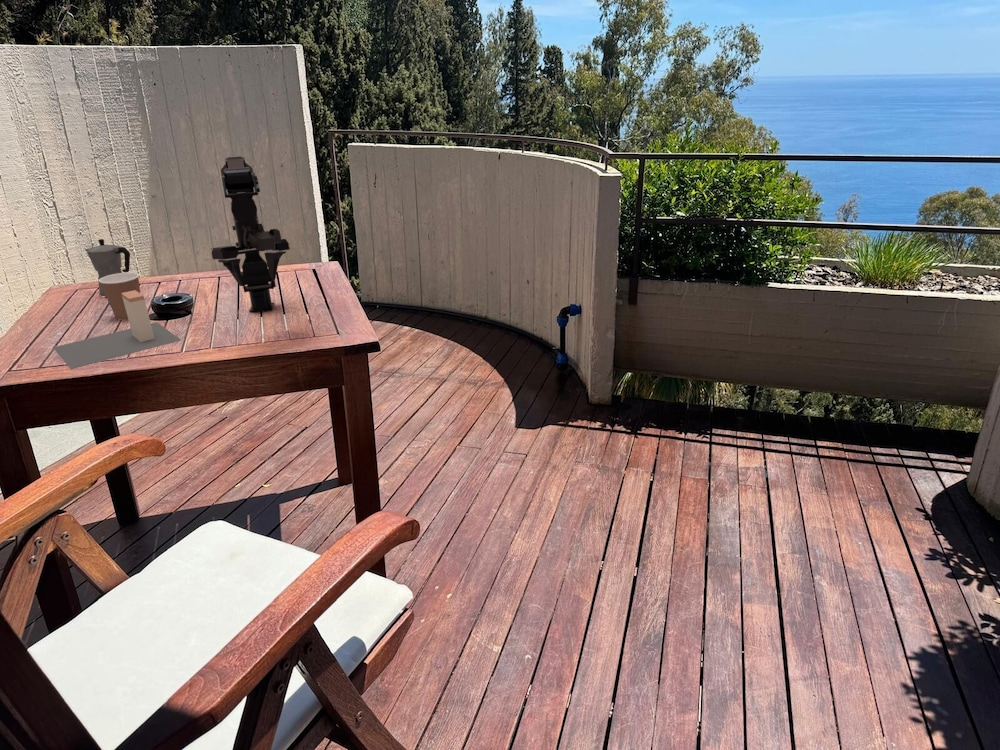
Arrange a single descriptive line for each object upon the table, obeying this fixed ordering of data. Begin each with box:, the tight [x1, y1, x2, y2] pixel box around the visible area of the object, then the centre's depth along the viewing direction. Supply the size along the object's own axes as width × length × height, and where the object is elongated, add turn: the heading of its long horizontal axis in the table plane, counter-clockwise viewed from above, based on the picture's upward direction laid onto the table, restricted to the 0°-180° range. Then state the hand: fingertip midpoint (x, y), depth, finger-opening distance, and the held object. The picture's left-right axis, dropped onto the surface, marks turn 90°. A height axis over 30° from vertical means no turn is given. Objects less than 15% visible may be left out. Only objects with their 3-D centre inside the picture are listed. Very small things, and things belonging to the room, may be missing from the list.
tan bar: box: [121, 290, 155, 342], centre depth 177 cm, size 4×7×12 cm, turn 42°
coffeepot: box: [84, 238, 131, 297], centre depth 214 cm, size 15×9×18 cm, turn 80°
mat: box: [52, 321, 182, 370], centre depth 176 cm, size 26×20×1 cm
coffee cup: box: [98, 272, 141, 321], centre depth 194 cm, size 10×10×12 cm
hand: (257, 282), depth 171 cm, fingers open, 9 cm apart
